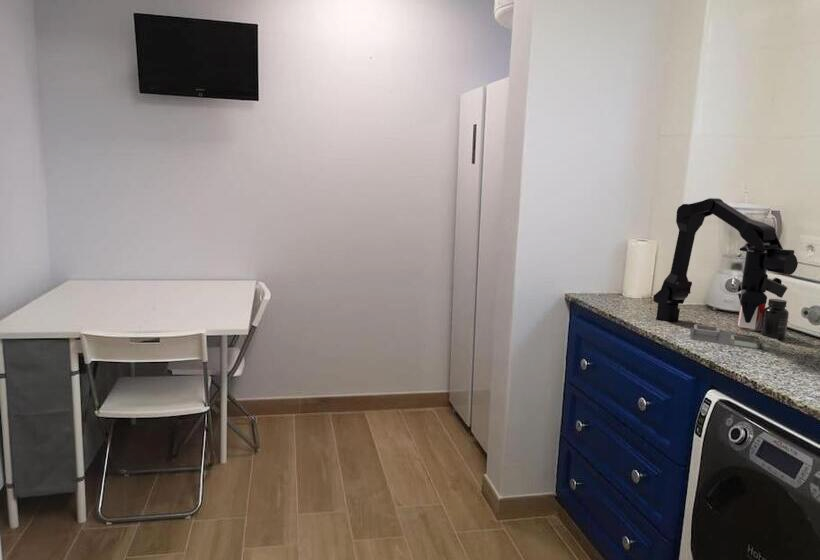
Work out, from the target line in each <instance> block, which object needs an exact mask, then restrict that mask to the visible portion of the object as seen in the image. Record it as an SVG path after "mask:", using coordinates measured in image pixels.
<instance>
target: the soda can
mask: <svg viewBox="0 0 820 560" xmlns="http://www.w3.org/2000/svg"><path fill="white" fill-rule="evenodd" d="M766 305H767V303H766V304H761V305H759V306H758V311H757V318H756V324H755V329H750V328H743V327H739V325H738V324H737V327H738V328H739V329H741V330H743V331H744V330H745V331H750V332H761V326H762V319H763V312H764V309H765V308H766ZM740 309H741V304H740V305H739V312H738V319H737V320H738V321H737V323H738V322H739V316H740Z"/></svg>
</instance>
